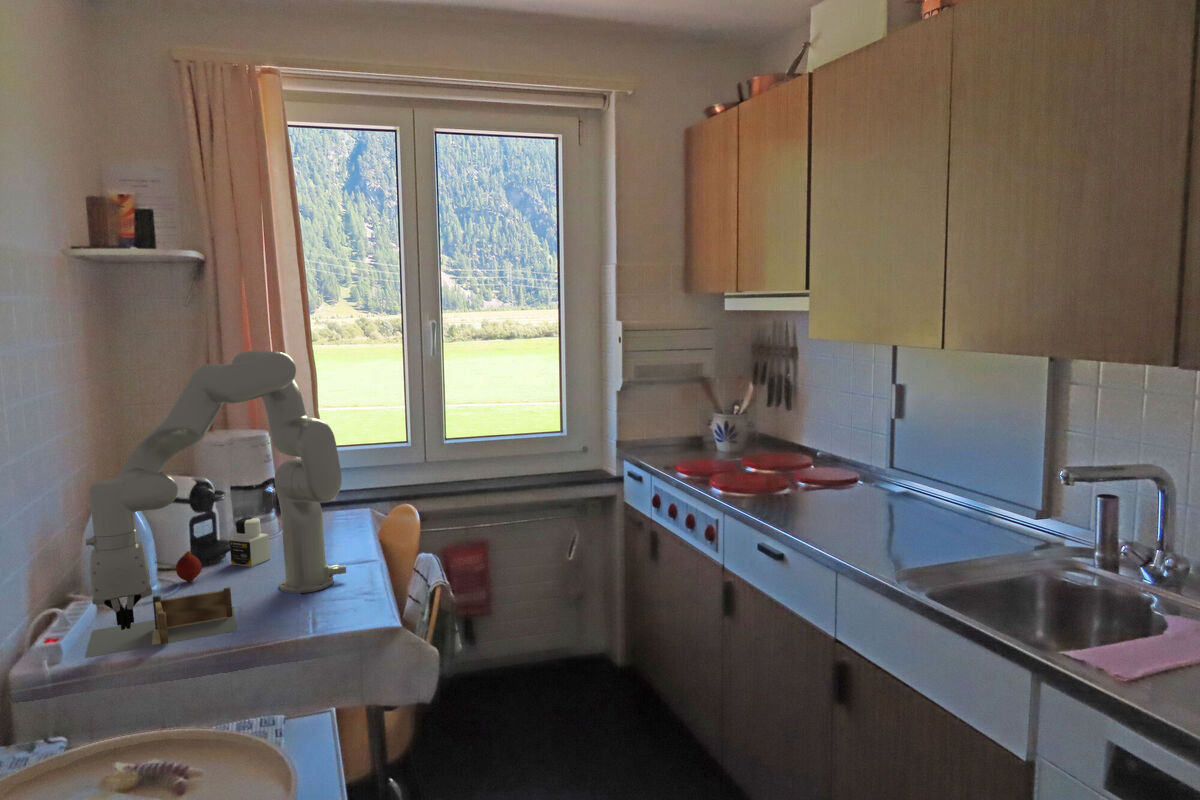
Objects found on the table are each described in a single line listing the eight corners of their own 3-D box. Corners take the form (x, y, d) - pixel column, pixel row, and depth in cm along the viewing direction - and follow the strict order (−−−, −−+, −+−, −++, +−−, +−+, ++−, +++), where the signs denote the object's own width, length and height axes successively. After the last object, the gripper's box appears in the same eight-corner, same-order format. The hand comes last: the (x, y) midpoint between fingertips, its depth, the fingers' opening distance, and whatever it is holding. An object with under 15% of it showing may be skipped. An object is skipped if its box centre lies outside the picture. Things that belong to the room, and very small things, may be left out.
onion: (192, 586, 210) (189, 555, 209) (171, 585, 212) (169, 554, 211) (207, 578, 216) (204, 548, 215) (187, 577, 217) (184, 547, 216)
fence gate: (156, 627, 181) (153, 600, 180) (163, 626, 182) (161, 598, 181) (161, 644, 172) (158, 615, 171) (168, 642, 173) (166, 613, 172)
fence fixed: (232, 614, 190) (230, 584, 189) (232, 616, 188) (230, 586, 187) (155, 627, 183) (152, 596, 182) (155, 630, 181) (152, 598, 181)
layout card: (233, 608, 194) (233, 606, 194) (237, 632, 180) (237, 630, 180) (92, 632, 182) (92, 630, 182) (84, 659, 168) (84, 657, 168)
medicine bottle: (230, 564, 227) (227, 521, 226) (250, 556, 234) (247, 514, 232) (251, 567, 225) (247, 523, 223) (271, 559, 231) (267, 516, 230)
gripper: (70, 551, 164) (81, 641, 167) (157, 539, 171) (166, 626, 173) (75, 541, 171) (85, 628, 173) (158, 530, 177) (167, 613, 180)
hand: (126, 627), depth 173 cm, fingers closed
